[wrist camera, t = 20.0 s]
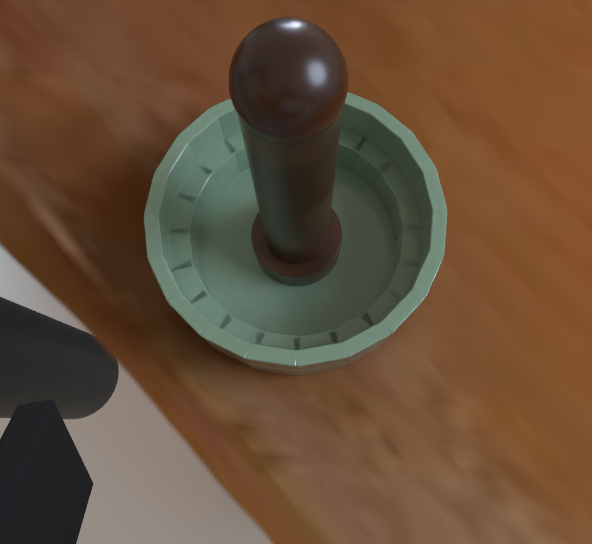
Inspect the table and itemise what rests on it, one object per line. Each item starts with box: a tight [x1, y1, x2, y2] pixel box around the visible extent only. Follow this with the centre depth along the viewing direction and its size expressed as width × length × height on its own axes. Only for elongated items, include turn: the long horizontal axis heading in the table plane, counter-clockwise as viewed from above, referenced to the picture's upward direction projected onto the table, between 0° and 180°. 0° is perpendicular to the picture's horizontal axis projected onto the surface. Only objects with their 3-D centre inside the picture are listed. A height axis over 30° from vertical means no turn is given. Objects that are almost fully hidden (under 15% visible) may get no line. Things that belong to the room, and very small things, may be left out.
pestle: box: [229, 18, 348, 286], centre depth 23 cm, size 5×5×18 cm
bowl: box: [144, 92, 447, 376], centre depth 29 cm, size 16×16×6 cm
